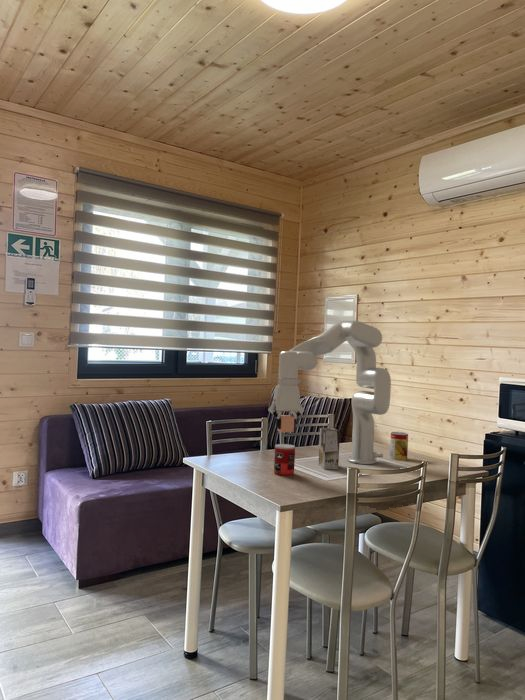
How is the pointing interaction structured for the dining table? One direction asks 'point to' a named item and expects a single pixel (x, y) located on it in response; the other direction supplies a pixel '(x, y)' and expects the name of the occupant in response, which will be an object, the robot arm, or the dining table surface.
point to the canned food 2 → (399, 446)
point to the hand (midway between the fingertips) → (285, 428)
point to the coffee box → (329, 448)
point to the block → (287, 423)
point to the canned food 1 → (284, 459)
